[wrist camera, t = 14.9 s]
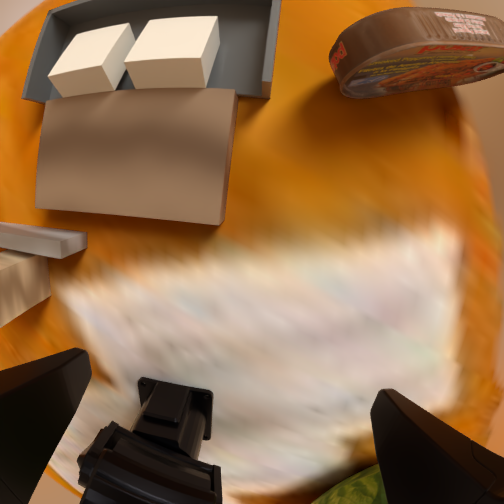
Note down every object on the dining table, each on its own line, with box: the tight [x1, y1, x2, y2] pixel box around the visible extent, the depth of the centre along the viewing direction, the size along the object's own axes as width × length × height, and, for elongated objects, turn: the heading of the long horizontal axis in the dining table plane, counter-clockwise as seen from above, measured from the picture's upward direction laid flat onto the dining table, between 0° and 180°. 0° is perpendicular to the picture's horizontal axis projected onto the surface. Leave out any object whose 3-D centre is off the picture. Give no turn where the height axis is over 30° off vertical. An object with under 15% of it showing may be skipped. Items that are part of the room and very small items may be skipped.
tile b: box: [48, 23, 136, 98], centre depth 14 cm, size 4×4×2 cm
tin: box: [329, 7, 504, 99], centre depth 12 cm, size 15×3×8 cm, turn 109°
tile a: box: [124, 16, 220, 89], centre depth 14 cm, size 4×4×2 cm
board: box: [35, 88, 238, 225], centre depth 17 cm, size 8×14×2 cm, turn 83°
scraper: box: [0, 222, 87, 328], centre depth 17 cm, size 6×13×7 cm, turn 84°
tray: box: [21, 0, 282, 105], centre depth 15 cm, size 8×18×4 cm, turn 83°
